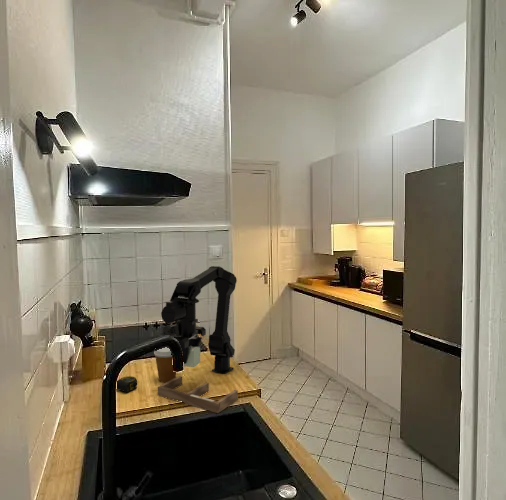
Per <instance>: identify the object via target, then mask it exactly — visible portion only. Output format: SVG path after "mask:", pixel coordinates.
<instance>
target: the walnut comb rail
mask: <svg viewBox="0 0 506 500" xmlns="http://www.w3.org/2000/svg"><path fill="white" fill-rule="evenodd" d="M182 385H183V376H182V375H179V376H176V378H174V379H172V380H170V381H168V382H163V383H162V384H160V385H158V386H157V396H158V395H159V396H158V397H162V398H165V397H167V398H166V399H168V398H170V399H169V400H172V399H174V400H173V401H175V400H178V401H182V402H184V403H183V404H186V405H189V406H192V407H195V408H199V409H202V410H205V411H208V412H212V413H214V414H215V413H216V414H219V413H220V412H222V411H223V410H225V409H226V408H228V407H229V406H231V405H232V404H234V403H235V402H236V401H237V400H238V398H239V397H238V396H239V391H238V390H236V389H233V390H232V391H231V392H229V393H227V394H226V395H224V396H223V397H222V398H220V399H219V400H217V401H216V400H214V399H210V398H208V397H203V394H204V395H205V393H206V392H207V393H209V392H210V388H209V387H210V385H209V382H204V383H203V384H201V385H200V386H199V385H198V386H197V387H195V388H194V389H191V390H190V391H188V392H185V391H180V390H178V389H176V387H177V388H178V386H179V387H180V386H182ZM208 391H209V392H208ZM207 393H206V394H207ZM201 395H202V396H201ZM200 396H201V397H200ZM178 401H177V402H178ZM182 402H181V403H182Z"/></svg>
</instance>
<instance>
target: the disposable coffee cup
mask: <svg viewBox="0 0 506 500" xmlns="http://www.w3.org/2000/svg"><path fill="white" fill-rule="evenodd" d="M153 354H154V356H155V364H156V369H157V376H158V381H159V382H161V383H166V382H168V381H170V380H172V379H174V378H176V377H177V371H176V372H173V365H172V355H171V351H170V349H169V348H167V347H165V348H162V349H159V350H157V351H155V350H154V352H153Z"/></svg>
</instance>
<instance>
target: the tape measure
mask: <svg viewBox="0 0 506 500" xmlns="http://www.w3.org/2000/svg"><path fill="white" fill-rule="evenodd" d="M116 381H117V389H116V390H119V391H122V392H124V393H129V392H130V391H134V390H135V389H136V388H137V387H138V386H137V385H138V379H137V378H136V377H135V376H133V375H132V376H131V375H129V376H128V375H127V376H124V377H121V378H119V379H118V380H116Z"/></svg>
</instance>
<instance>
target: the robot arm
mask: <svg viewBox="0 0 506 500" xmlns="http://www.w3.org/2000/svg"><path fill="white" fill-rule="evenodd" d="M237 279H238V278H237V276H235V273H232V272H230V271H228V270H226V269H224V268H223V267H222V266H219V265H218V266H217V265H215V266H214V265H213V266H209V267H208V268H207V269H206V270H204V271H203V272H201V273H200V274H198V275H195V277H192V278H188V279H183V280H180V281H178V282H177V283H176V286H175V288H174V290H173V293H172V295H171V296H170V299H169V301H168V302H167V301H166V302H165V306H164V307H163V308H162V310H161V313H160V314H161V319H162V321H163V322H165V323H166V324H167V325H164V326H162V327H163V328H162V335H163V336H165V335H170V336H169V337H171V336H173V337H174V338H176V339H177V340H178V341H179V343H180V345H181V348H182V351H183V362H184V364H186V363H187V360H188V357H189V353H190V350H191V346H192V347H199V345H200V343H201V341H202V339H203V337H204V336H206V334H207V330H206V328H205V327H204V326H198V325H197V323H198V322H199V319H198V318H196V316H197V315H196V314H197V313H196V307H197V306H196V304H198V303H199V302H200V300H199V299H198V298H197V297H198V296H199V295H200V293H201V292H202V289H203V288H204V287H206V286H207V285H208V284H210V283H212V282H214V287H215V290H216V292H217V304H216V305H217V306H216V313H215V315H216V316H215V323H214V324H215V327H214V331H213V333H212V334H209V336H208V343H207V346H208V349H209V354H210V356H214V364H213V365H214V368H212V369H211V371H212V372H215V373H219V374H223V375H225V374H227V373H229V372H230V371H232V370H233V369H234V367H233V366H231V358H233V357H234V356H235V348H234V346H232V344H231V337H230V334H229V332H228V325H229V314H230V313H229V312H230V304H231V303H230V302H231V296H232V294H233V293H234V291H235V289H236V284H237V282H238V280H237ZM174 322H175V324H173V325H169V324H172V323H174ZM174 335H175V336H174ZM199 335H200V336H201V337H200V336H199ZM231 369H232V370H231ZM228 371H229V372H228Z"/></svg>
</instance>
